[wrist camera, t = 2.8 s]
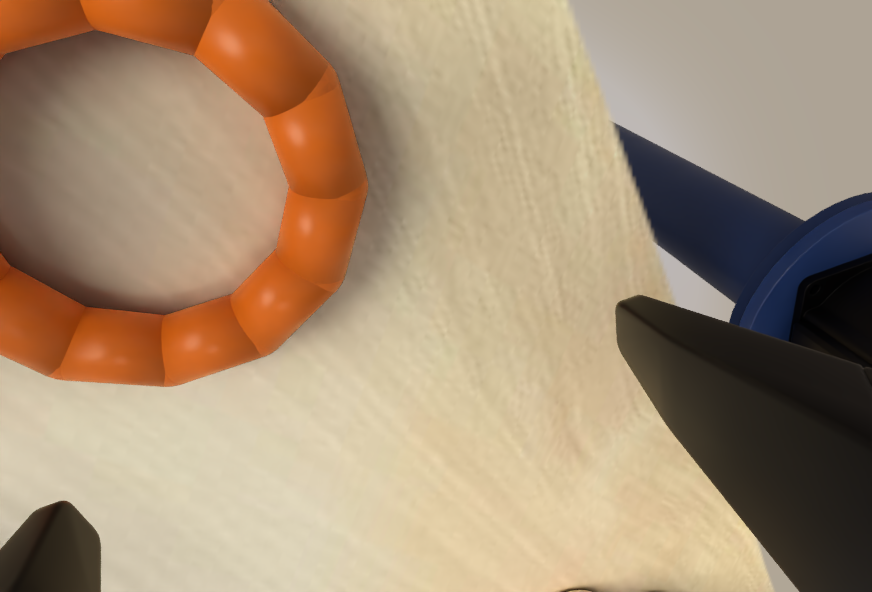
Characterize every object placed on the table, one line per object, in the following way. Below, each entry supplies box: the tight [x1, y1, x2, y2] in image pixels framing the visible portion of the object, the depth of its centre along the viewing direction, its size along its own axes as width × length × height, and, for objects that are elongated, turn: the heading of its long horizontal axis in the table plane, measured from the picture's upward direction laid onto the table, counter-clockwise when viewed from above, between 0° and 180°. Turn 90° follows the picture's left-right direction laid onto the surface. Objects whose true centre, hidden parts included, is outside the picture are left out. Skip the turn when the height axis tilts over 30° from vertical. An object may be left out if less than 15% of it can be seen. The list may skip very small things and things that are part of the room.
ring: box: [0, 0, 368, 387], centre depth 16 cm, size 12×12×2 cm
